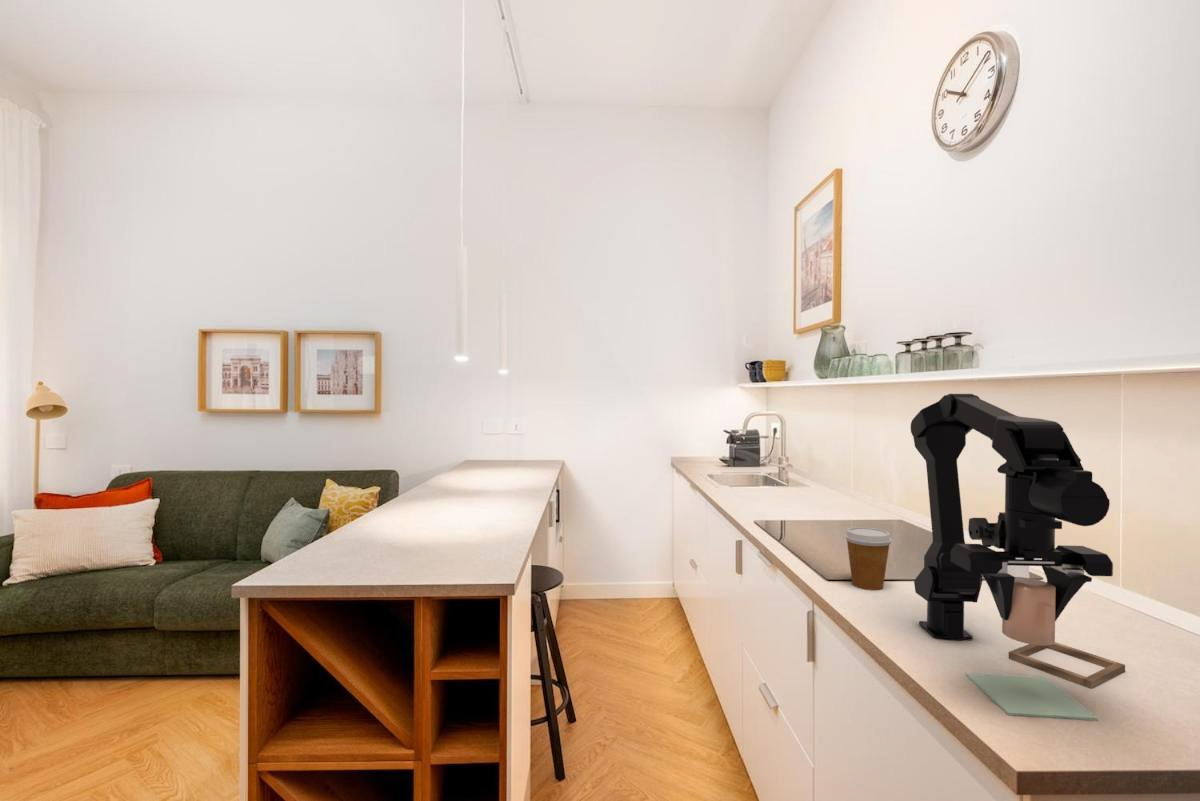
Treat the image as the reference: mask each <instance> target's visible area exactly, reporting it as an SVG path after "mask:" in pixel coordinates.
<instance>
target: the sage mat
mask: <svg viewBox="0 0 1200 801" xmlns="http://www.w3.org/2000/svg"><path fill="white" fill-rule="evenodd" d="M965 676H966V677H967V678H968V679H969V680H970V681H971V682H973V683H974V685H976V686H977V687H978V689H980V690H981V691H982V692H983V693H984V694H985V695H986V696H987V697H989V699H990V700H992V702H994V703H995V704H996V705H997V706H998V707H999V708H1000V709H1001V710H1002V711H1004V712H1005V713H1006V715H1008V716H1018V717H1019V716H1020V717H1037V718H1052V719H1057V718H1058V719H1067V720H1068V719H1069V720H1070V719H1071V720H1086V721H1089V720H1090V721H1099V718H1098V717H1097V716H1096V715H1095V714H1093V713H1092V712H1091V711H1089V710H1088V709H1087V708H1086V707H1084V706H1083V705H1082V704H1080V703H1079V702H1078V701H1077V700H1075V699H1073V698H1072V697H1071V696H1070V695H1068V694H1067V693H1066V692H1064V691H1063V690H1062V689H1060V687H1058V686H1056V685H1055V684H1053V683H1052V682H1051V681H1049V679H1047V678H1046V677H1043V676H1027V675H1024V676H1023V675H1010V674H1009V675H1008V674H1006V675H1003V674H985V673H969V672H968V673H967V672H966V673H965Z"/></svg>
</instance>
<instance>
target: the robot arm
mask: <svg viewBox="0 0 1200 801" xmlns="http://www.w3.org/2000/svg"><path fill="white" fill-rule="evenodd" d="M973 430H974V431H975V432H978V433H979V434H981V435H983V436H985V437H987V439H988V438H989V439H990V441H991V448H992V449H993V450H994V451H995V452H996V453H997V454H999V455H1000V457H1001V458H1003V459H1004V460H1005V462H1004V463H1002V464H1000V465H999V467H998V468H997V469H996V470H997V472H998V473H999V474H1005V479H1004V482H1005V484H1004V486H1005V488H1004V495H1005V497H1004V512H1003V511H1002V512H998V513H999V514H998V515H997V522H989V521H988V518H986V517H972V518H971V517H970V518H968V536H969V538H970V539H971V540H973V541H981V543H966V541H965V532H964V522H963V511H962V502H961V491H960V481H959V480H960V479H959V470H958V468H959V467H958V459H959V457H960V455H961V454H962V453H963V450H964V449H965V447H966V440H967V439H966V438H967V437H966V436H967V435H968V434H969V433H970V432H971V431H973ZM910 434H911V436H913V437H912V438H913V443H914V448H915V449H916V450H917V452H918V453H919V454H920V455H921V456H922V458H923V459H924V461H925V464H926V466H925V467H926V476H927V488H928V489H927V490H928V500H929V510H930V511H929V512H930V524H931V531H932V533H931V534H932V535H931V536H932V542H931V543H930V546H929V547H928V549H927V550H926V553H925V554H924V556H923V568H922V570H921V571H920V572H919V574H918V575H917V576H916V577H915V579H914V580H913V583H914V584H913V585H914V591H915V594H917V596H920V597H921V598H922V599H923V600H925V601H926V620H925V621H923V620H920V621H919V622H918V624H919V626H921V627H922V628H923V630H925V631H926V632H927V633H928V634H930V636H932V637H933V638H936V639H949V640H950V639H953V640H954V639H955V640H973V639H974V636H973V635H972V634H971V633H969V632H968V631H967V630H965V602H966V603H967V602H968V603H978V600H979V596H980V592H981V590H982V589H981V588H982V585H983V579H984V580H985V582H986V584H987V586H988V588H989V590H990V592H991V593H990V594H991V595H992V598H993V601H994V603H995V605H996V608H997V611H998V613H999V616H1000V618H1001V619H1004V620H1008V619H1009V615H1010V612H1011V604H1012V596H1013V588H1014V580H1015V577H1014V576H1012V575H1010V574H1008V573H1007V565H1015V566H1029V567H1031V566H1033V567H1041V568H1042V570H1043V573H1044V575H1045V577H1046V582H1047V583H1050V584H1052V585H1054V586H1055V587H1056V601H1055V622H1057V620H1058V618H1059V617H1060V615H1061V614H1062V612H1063V611H1064V610H1065V608H1066V607H1067V606H1068V604H1069V603H1070V601H1071V600H1072V599H1073V598H1074V596H1075V595H1076V594H1077V593H1078V592H1079V591H1080V590H1081V588H1082V587H1083V586H1084V585H1085V584H1086V583H1091V582H1093V578H1092V577H1112V576H1114V562H1113V561H1112V560H1111V557H1109V555H1108V554H1107V553H1104V552H1101V551H1098V550H1096V549H1093V548H1090V547H1087V546H1084V545H1059V544H1058V545H1057V546H1055V544H1056V530H1062V529H1063V522H1066V523H1071V524H1072V525H1077V526H1079V527H1080V526H1082V527H1090V526H1094V525H1096V524H1099V523H1100V522H1101V521H1102V520H1103V519H1104V518H1106V516H1107V514H1108V512H1109V509H1110V504H1111V503H1110V499H1109V498H1108V495H1107V492H1106V491H1105V489H1104V487H1102V486H1101V485H1100V484H1099V483H1097V482H1095V481H1093V472H1092V471H1090V470H1086V469H1084V467H1083V464H1082V463H1081V462H1082V459H1081V458H1080V456H1079V455H1078V454H1077V453H1076V450H1075V449H1074V447H1073V445H1072V443H1071V441H1070V439H1069V437H1068V435H1067V434H1066V432H1065V431H1064V428H1063V426H1062V425H1061V424H1060V423H1058V422H1057V421H1053V420H1049V419H1043V418H1036V417H1026V416H1020V415H1019V416H1018V415H1015V414H1013V413H1011V412H1009V411H1007V410H1005V409H1003V408H1000V407H998V406H997V405H995V404H992V403H989V402H987V401H986V400H983V399H981V398H980V397H979V396H978V395H975V394H973V393H948V394H944V396H942V397H941V398H940V399H939V400H938V401H936V402H934V403H932V404H930V405H928V406H926V407H924V408H921V410H920V411H919V412H918V413H917V414H916V415H915V416H914V417H913V418H912V419H911V422H910ZM991 547H995V548H997V549H1001V550H1002V551H999V550H998V551H996V550H995V549H992V548H991ZM1003 550H1004V551H1003ZM1016 558H1024V559H1016ZM1085 572H1086V573H1087V574H1085ZM1091 576H1092V577H1091Z"/></svg>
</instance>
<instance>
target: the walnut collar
mask: <svg viewBox="0 0 1200 801" xmlns="http://www.w3.org/2000/svg"><path fill="white" fill-rule="evenodd" d="M1047 648H1048V649H1050V650H1053V651H1057V652H1059V653H1062V654H1065V655H1068V656H1071V657H1074V658H1076V659H1080V660H1082V661H1085V662H1089V663H1092V664H1095V665H1098V666H1100V667H1103V668H1102V669H1099V670H1098V671H1097V672H1095V673H1092V674H1090V675H1088V676H1085V675H1082V674H1079V673H1076V672H1074V671H1071V670H1068V669H1066V668H1065V669H1064V668H1062V667H1059V666H1056V665H1053V664H1050V663H1048V662H1046V661H1042V660H1039V659H1036V658H1034V657H1031V655H1033V654H1035V653H1038V652H1039V651H1042V650H1044V649H1047ZM1008 659H1009V660H1010V659H1011V660H1012V661H1016V662H1018V663H1021V664H1024V665H1026V666H1029V667H1032V668H1034V669H1037V670H1040V671H1043V672H1045V673H1049V674H1051V675H1054V676H1055V677H1058V678H1062V679H1065V680H1068V681H1070V682H1072V683H1075V684H1079V685H1081V686H1083V687H1086V688H1090V689H1094V688H1095V687H1098V686H1100V685H1101V684H1103V683H1106V682H1107V681H1110V680H1112V679H1113V678H1115V677H1116V676H1119V675H1120V674H1123V673H1124V672H1126V664H1124V663H1121V662H1119V661H1114V660H1112V659H1109V658H1105V657H1104V656H1103V657H1102V656H1099V655H1097V654H1093V653H1089V652H1087V651H1084V650H1080V649H1077V648H1074V647H1071V646H1068V645H1066V644H1063V643H1058V642H1056V641H1055V643H1054V644H1052V645H1047V646H1041V645H1032V644H1025V645H1023V646H1021V647H1018V648H1016V649H1012V650H1011V651H1008Z"/></svg>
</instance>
